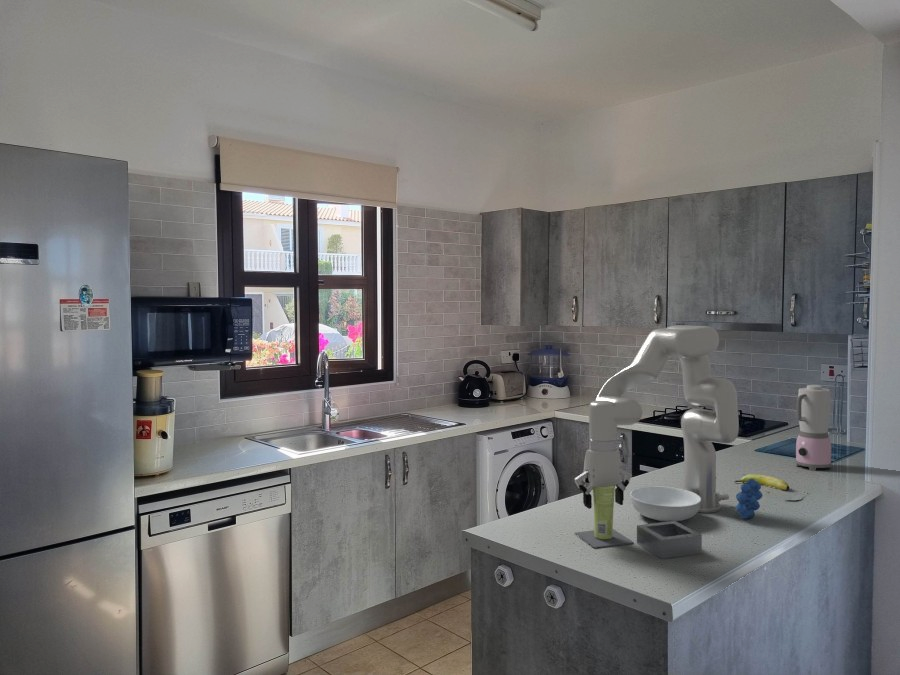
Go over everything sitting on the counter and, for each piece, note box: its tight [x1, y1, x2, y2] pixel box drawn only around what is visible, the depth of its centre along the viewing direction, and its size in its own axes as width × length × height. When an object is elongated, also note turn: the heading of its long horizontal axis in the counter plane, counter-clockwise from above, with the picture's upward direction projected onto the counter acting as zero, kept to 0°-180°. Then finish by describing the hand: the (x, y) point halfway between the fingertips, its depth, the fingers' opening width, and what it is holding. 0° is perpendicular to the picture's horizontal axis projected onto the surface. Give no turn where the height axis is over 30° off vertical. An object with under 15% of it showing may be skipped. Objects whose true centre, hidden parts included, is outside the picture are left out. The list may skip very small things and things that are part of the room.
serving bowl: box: [629, 485, 701, 522], centre depth 208 cm, size 21×21×7 cm
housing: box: [636, 521, 703, 560], centre depth 182 cm, size 12×12×5 cm
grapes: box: [735, 479, 763, 520], centre depth 206 cm, size 12×7×12 cm, turn 125°
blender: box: [795, 384, 832, 471], centre depth 263 cm, size 16×12×32 cm
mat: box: [574, 528, 634, 549], centre depth 190 cm, size 12×12×1 cm
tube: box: [592, 485, 616, 540], centre depth 190 cm, size 6×5×20 cm
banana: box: [734, 473, 809, 501], centre depth 240 cm, size 35×27×4 cm
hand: (603, 505), depth 190 cm, fingers open, 9 cm apart
